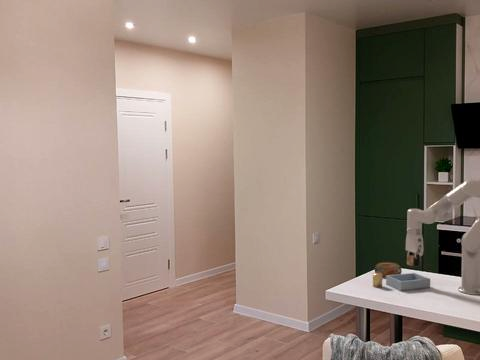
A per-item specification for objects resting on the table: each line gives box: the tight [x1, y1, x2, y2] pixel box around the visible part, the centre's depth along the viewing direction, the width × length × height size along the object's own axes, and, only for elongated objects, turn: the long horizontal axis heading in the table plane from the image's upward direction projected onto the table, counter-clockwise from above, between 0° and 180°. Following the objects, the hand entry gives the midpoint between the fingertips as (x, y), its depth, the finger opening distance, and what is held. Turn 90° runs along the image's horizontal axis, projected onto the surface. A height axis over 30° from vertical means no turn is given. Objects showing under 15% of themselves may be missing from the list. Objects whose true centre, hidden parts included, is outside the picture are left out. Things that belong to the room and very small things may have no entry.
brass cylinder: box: [372, 272, 383, 289], centre depth 266 cm, size 5×5×7 cm
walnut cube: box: [406, 254, 422, 268], centre depth 266 cm, size 5×5×5 cm
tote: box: [385, 272, 431, 292], centre depth 266 cm, size 14×18×5 cm
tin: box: [374, 262, 402, 278], centre depth 286 cm, size 15×3×8 cm, turn 73°
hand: (413, 264), depth 266 cm, fingers closed on walnut cube, 5 cm apart
